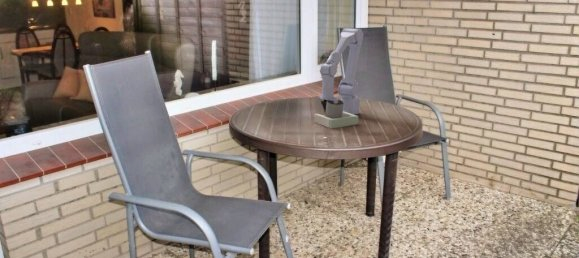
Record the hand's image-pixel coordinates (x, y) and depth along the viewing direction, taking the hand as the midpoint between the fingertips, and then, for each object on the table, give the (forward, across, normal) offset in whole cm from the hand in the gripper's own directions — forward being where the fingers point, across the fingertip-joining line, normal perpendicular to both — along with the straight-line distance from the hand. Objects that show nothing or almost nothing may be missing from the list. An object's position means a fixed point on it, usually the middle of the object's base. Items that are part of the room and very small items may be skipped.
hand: (327, 115), depth 242 cm
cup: (+2, +5, 0) cm, 6 cm away
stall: (+2, +6, 0) cm, 7 cm away
